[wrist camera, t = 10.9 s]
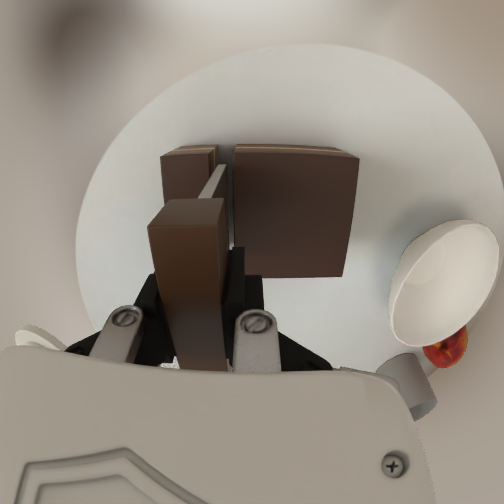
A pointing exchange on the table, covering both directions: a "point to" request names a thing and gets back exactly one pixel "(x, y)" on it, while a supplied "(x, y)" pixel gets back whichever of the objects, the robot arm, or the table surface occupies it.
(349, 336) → the table surface
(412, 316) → the bowl
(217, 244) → the knife
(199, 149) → the cake slice
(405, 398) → the cup
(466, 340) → the fruit
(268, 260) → the cake
